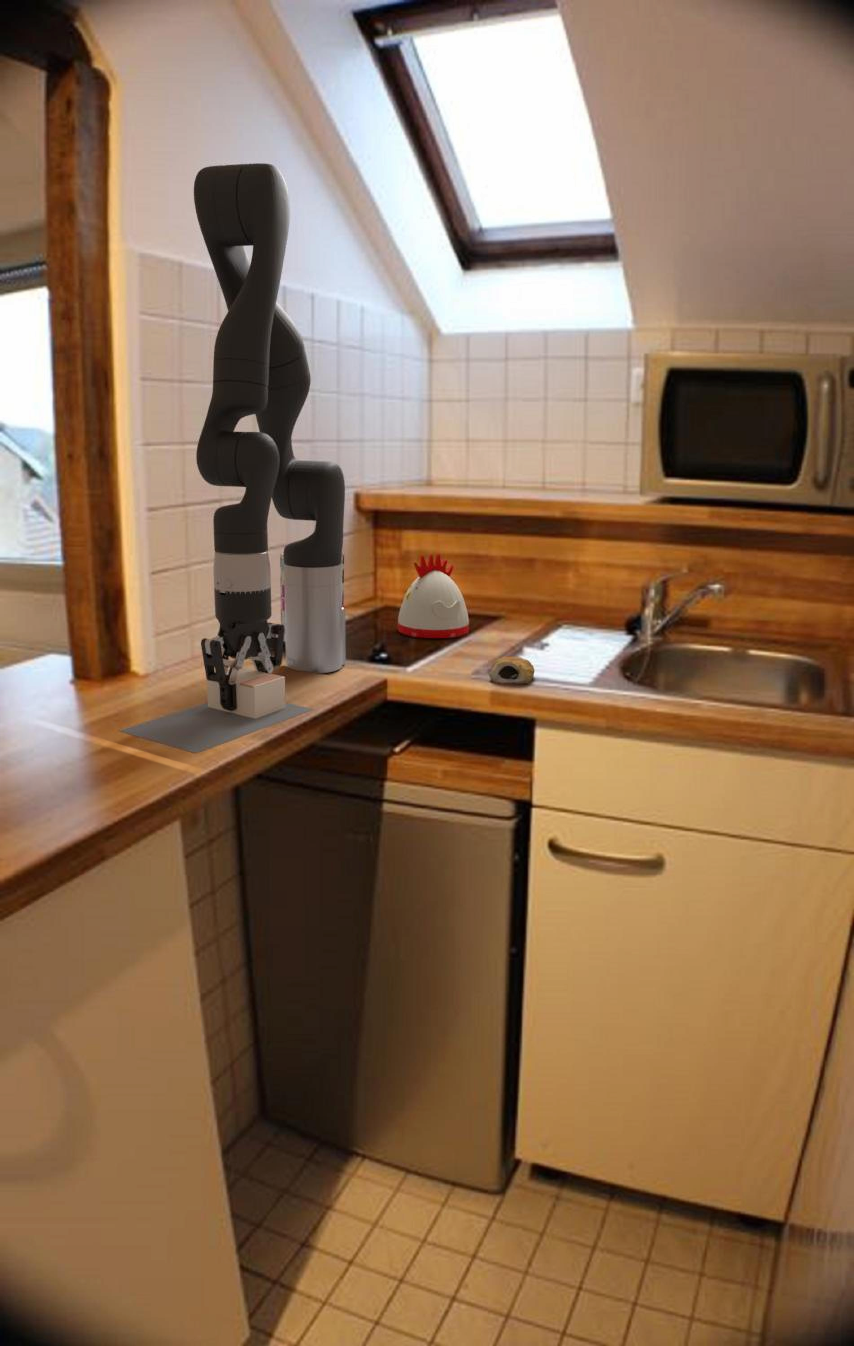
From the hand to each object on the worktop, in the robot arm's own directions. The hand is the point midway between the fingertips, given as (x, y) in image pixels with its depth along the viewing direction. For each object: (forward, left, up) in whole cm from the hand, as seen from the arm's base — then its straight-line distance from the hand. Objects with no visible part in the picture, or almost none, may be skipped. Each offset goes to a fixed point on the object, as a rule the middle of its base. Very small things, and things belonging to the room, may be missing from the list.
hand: (246, 703), depth 130 cm
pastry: (-39, +21, -2) cm, 44 cm away
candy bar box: (-38, -20, -1) cm, 43 cm away
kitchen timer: (-60, -8, -2) cm, 61 cm away
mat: (+6, +1, -1) cm, 6 cm away
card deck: (0, 0, -1) cm, 1 cm away
